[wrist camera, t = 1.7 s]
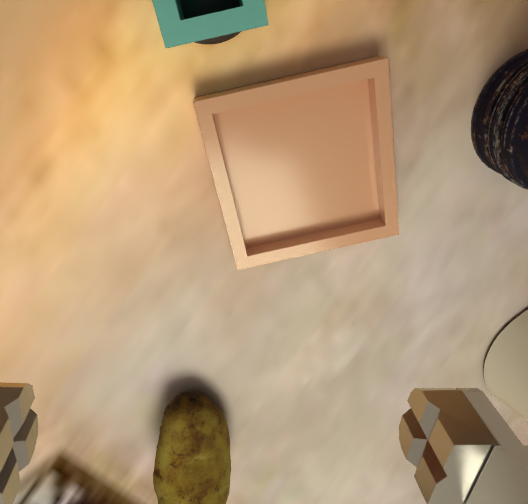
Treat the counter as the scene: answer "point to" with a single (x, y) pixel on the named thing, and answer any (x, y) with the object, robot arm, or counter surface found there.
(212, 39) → the grey peg stand
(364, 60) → the tray
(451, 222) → the counter surface
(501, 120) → the storage jar
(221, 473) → the potato
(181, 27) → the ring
